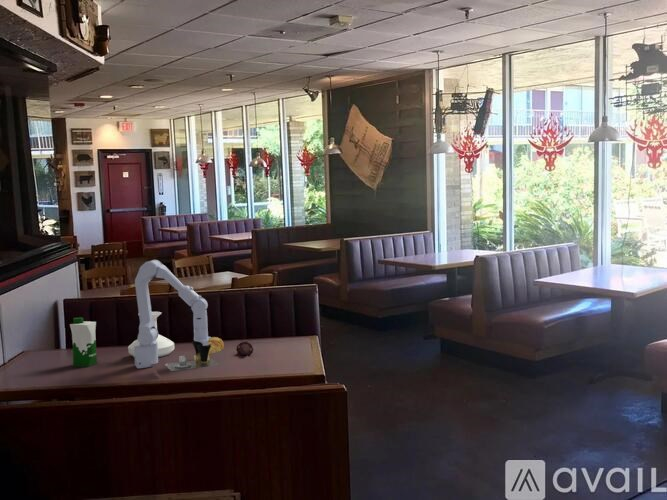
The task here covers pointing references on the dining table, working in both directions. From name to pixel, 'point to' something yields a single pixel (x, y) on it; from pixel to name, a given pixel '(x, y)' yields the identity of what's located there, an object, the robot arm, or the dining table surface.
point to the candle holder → (162, 342)
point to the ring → (199, 358)
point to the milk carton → (83, 342)
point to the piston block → (189, 364)
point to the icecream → (244, 348)
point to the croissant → (215, 345)
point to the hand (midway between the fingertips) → (202, 359)
